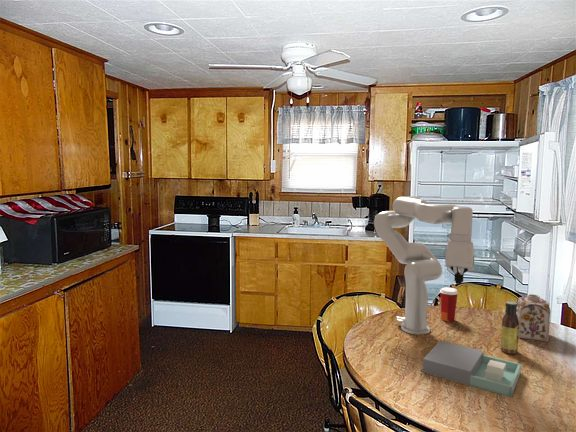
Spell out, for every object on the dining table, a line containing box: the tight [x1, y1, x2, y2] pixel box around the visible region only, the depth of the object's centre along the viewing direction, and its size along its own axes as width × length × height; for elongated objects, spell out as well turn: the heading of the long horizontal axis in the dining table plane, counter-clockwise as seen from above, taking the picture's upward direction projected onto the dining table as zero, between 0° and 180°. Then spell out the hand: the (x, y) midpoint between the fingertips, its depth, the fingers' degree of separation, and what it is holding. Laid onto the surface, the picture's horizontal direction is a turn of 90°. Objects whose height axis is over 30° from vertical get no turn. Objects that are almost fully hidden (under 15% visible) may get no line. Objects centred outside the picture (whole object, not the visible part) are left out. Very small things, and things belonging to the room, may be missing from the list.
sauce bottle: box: [500, 301, 520, 355], centre depth 169 cm, size 7×6×20 cm
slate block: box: [422, 340, 485, 387], centre depth 156 cm, size 16×20×5 cm
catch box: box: [469, 354, 522, 398], centre depth 147 cm, size 12×20×4 cm, turn 144°
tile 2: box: [485, 370, 504, 382], centre depth 148 cm, size 5×5×2 cm
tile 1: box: [487, 360, 506, 376], centre depth 147 cm, size 5×5×2 cm
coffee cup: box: [439, 287, 459, 323], centre depth 205 cm, size 8×8×15 cm
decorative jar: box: [515, 293, 551, 343], centre depth 186 cm, size 12×12×18 cm
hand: (458, 283), depth 170 cm, fingers closed
